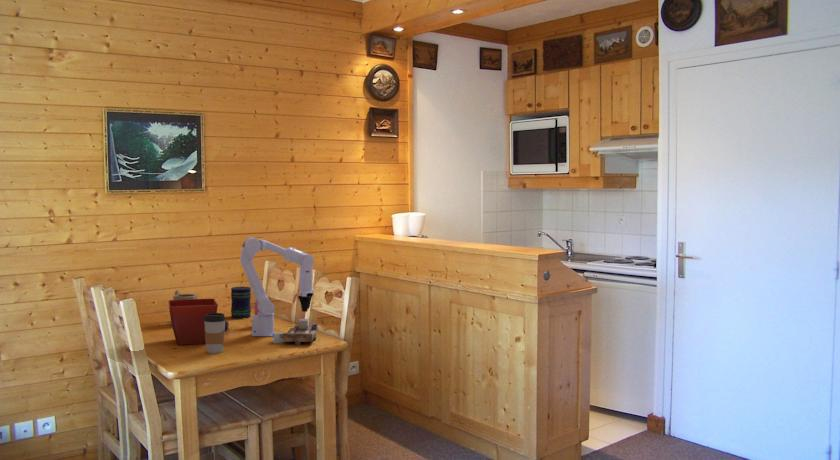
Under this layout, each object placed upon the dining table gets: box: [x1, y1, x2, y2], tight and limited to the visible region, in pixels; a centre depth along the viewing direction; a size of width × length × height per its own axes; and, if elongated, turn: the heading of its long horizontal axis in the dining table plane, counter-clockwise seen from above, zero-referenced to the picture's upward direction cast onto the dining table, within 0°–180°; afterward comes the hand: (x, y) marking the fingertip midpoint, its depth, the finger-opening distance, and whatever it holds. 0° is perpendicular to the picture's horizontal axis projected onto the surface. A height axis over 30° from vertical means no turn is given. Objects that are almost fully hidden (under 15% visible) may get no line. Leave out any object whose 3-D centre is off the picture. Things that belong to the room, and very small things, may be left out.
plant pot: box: [167, 298, 218, 346], centre depth 298 cm, size 19×19×17 cm
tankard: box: [169, 289, 198, 326], centre depth 338 cm, size 20×13×15 cm, turn 34°
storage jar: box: [230, 286, 252, 320], centre depth 356 cm, size 10×10×15 cm
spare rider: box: [272, 331, 285, 344], centre depth 300 cm, size 4×4×4 cm
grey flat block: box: [282, 322, 319, 346], centre depth 305 cm, size 13×22×5 cm, turn 2°
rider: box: [297, 318, 310, 330], centre depth 314 cm, size 4×4×4 cm
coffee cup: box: [204, 312, 226, 354], centre depth 280 cm, size 8×8×15 cm
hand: (305, 310), depth 320 cm, fingers open, 7 cm apart
